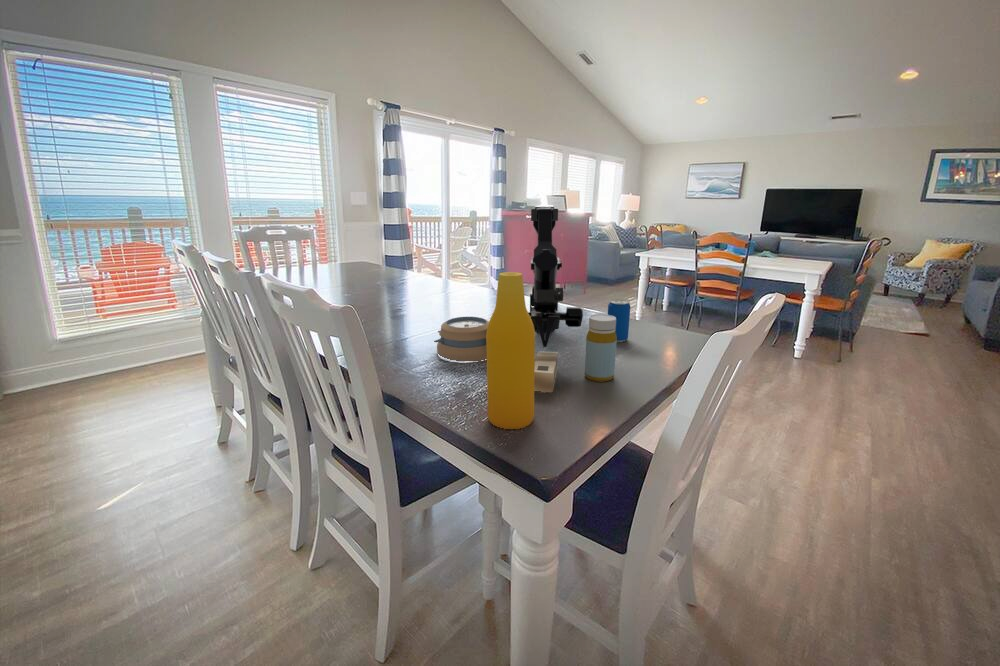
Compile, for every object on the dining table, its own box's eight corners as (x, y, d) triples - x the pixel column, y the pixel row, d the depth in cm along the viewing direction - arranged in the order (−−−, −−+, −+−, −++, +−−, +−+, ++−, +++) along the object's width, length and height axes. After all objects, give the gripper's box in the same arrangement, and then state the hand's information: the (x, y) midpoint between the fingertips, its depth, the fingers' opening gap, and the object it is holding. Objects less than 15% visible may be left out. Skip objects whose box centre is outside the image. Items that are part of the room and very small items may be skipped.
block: (538, 350, 112) (530, 371, 99) (557, 351, 111) (553, 372, 98) (537, 369, 114) (530, 392, 101) (557, 370, 113) (552, 394, 100)
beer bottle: (479, 425, 86) (475, 276, 77) (499, 405, 94) (497, 268, 85) (524, 435, 82) (525, 279, 74) (540, 413, 90) (543, 271, 82)
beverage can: (625, 336, 139) (628, 299, 135) (629, 343, 132) (632, 304, 129) (604, 336, 139) (607, 298, 136) (607, 342, 133) (609, 303, 130)
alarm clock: (438, 314, 131) (516, 313, 132) (440, 344, 134) (516, 342, 134) (431, 331, 115) (520, 329, 115) (433, 364, 118) (520, 363, 118)
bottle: (615, 373, 110) (619, 314, 106) (612, 384, 104) (616, 322, 100) (586, 370, 112) (589, 312, 108) (582, 380, 106) (585, 320, 102)
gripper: (508, 275, 111) (505, 330, 104) (583, 275, 110) (586, 331, 102) (510, 299, 121) (507, 351, 114) (579, 300, 119) (581, 352, 112)
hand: (544, 346), depth 110 cm, fingers closed
